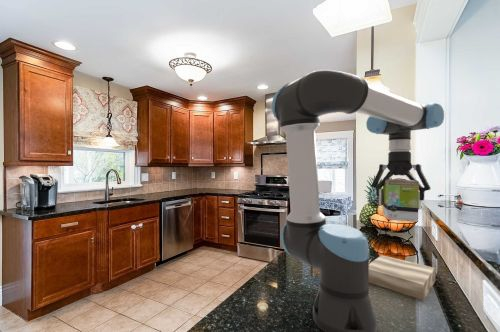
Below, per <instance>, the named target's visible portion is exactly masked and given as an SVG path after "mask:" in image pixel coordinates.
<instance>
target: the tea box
mask: <svg viewBox="0 0 500 332" xmlns="http://www.w3.org/2000/svg"><path fill="white" fill-rule="evenodd" d="M419 183H420V182H419V180H417V181H415V180H410V179H401V178H400V179H398V178H396V179H395V178H393V179H392V178H390V179H387V180H385V183H384V185H383V187H382V189H383V205H382V214H383V215H384V216H385V217H386V219H387V220H391V221H401V222H413V223H416V222H419V210H418V208H419Z"/></svg>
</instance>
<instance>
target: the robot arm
mask: <svg viewBox="0 0 500 332" xmlns="http://www.w3.org/2000/svg"><path fill="white" fill-rule="evenodd" d="M271 111H272V114H273V117H274V118H275V119H276V121H277V122H278V123H279V127H280V128H279V129H280V130H281V131H282V132H283V133H284V134H285V142H286V143H285V144H286V145H285V146H286V157H287V172H288V189H289V204H290V205H289V206H290V212H289V214H288V215H286V218H285V220H286V222H285V223H284V224H283V227H282V228H281V230H280V243H281V246H282V248H283V249H284V251H285V253H287V254H288V255H290V256H291V257H293V258H294V260H297V261H299V262H302V263H304V264H305V265H308V266H310V267H311V268H313V269H315V270H317V271H318V272H319V286H318V287H319V288H318V291H317V293H316V297H315V300H314V302H313V306H312V319H313V322H314V324H315V326H316V327H317V326H318V327H319V328H320V329H321V330H320V329H319V328H318V327H317V328H318V329H319V330H320V331H322V330H323V331H324V332H378V319H377V316H376V313H375V310H374V306H373V304H372V301H371V297H370V295H369V294H370V292H369V291H370V289H369V287H370V285H369V284H370V283H369V264H370V250H369V240H368V238H367V236H366V235H365V233H363V232H362V231H360V229H357V228H355V227H352V226H349V225H345V224H344V225H342V224H339V223H327V221H326V220H327V219H326V215H324V214H323V213H322V212H321V209H320V207H321V206H320V196H319V195H320V194H319V177H318V159H317V146H316V145H317V144H316V130H317V129H318V128H319V126H320V125H321V121H320V117H321V116H324V115H328V114H333V113H335V114H336V113H341V114H342V113H343V114H347V115H351V114H354V113H355V114H356V113H358V114H361V115H364V116H368V117H367V119H366V123H365V124H366V128H367V130H368V131H369V133H371V134H376V135H387V136H388V149H387V150H388V151H389V152H388V153H387V154H388V155H387V156H388V157H387V158H388V159H387V161H388V162H387V164H382V163H380V164H379V165H378V171H377V173H376V175H375V177H374V178H373V181H372V183H371V187H372V188H374V189H375V190H376V197H377V198H378V206H381V207H382V206H383V185H384V183H385V180H387V179H391V178H392V176H406V177H407V178H408V180H415V181H418V180H417V179H416V177H415V176H413V174H412V173H411V170H412V169H413V170H414V171H416V174H417V175H418V178H419V179H420V181H421V183H422V185H421V183H420V182H419V208H418V211H420V210H422V201H424V200H425V192H426V191H430V190H431V186H430V185H429V182H428V180H427V178H426V176H425V175H424V172H423V170H422V165H421V164H419V163H417V164H412V153H411V150H412V131H419V130H420V131H421V130H426V129H427V130H429V129H432V128H439V127H440V126H441V125H442V124H443V123H444V119H445V110H444V107H443V106H442V105H441V104H440V103H437V102H435V103H427V104H421V103H417V102H415V101H412V100H409V99H407V98H404V97H402V96H399V95H396V94H393V93H391V92H389V91H387V90H383V89H380V88H378V87H376V86H372V85H370V84H369V83H368V81H367V80H366V79H365V78H363V77H361V76H358V75H356V74H353V73H349V72H345V71H340V70H333V69H317V70H314V71H311V72H308V73H307V74H306V75H304V76H302V77H299V78H298V79H295V80H293V81H291V82H289V83H286V84H285V85H283V86H282V87H280V88H279V89H278V90H277V91H276V92H275V94H274V96H273V98H272V100H271ZM386 170H388V172H387V173H386V175H385V176H384V177H383V178H382V176H383V173H384V172H385V171H386ZM381 178H382V180H381ZM380 180H381V181H380ZM323 331H322V332H323Z"/></svg>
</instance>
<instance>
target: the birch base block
mask: <svg viewBox="0 0 500 332" xmlns="http://www.w3.org/2000/svg"><path fill="white" fill-rule="evenodd" d="M435 283H436V268H435V267H432V266H429V265H426V264H425V265H424V264H420V263H416V262H413V261H407V260H403V259H399V258H397V257H396V258H395V257H391V256H386V255H383V254H381V255H380V256H378V257H377V258H375V259H374V260H372V261H371V262H369V284H371V285H372V284H373V285H376V286H378V287H381V288H382V287H383V288H385V289H387V290H388V289H389V290H391V291H394V292H398V293H401V294H404V295H406V296H410V297H413V298H415V299H419V300H422V301H424V300H425V299H426V297H427V296H428V294H429V292H430V291H431V289H432V288H433V286H434V284H435Z"/></svg>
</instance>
